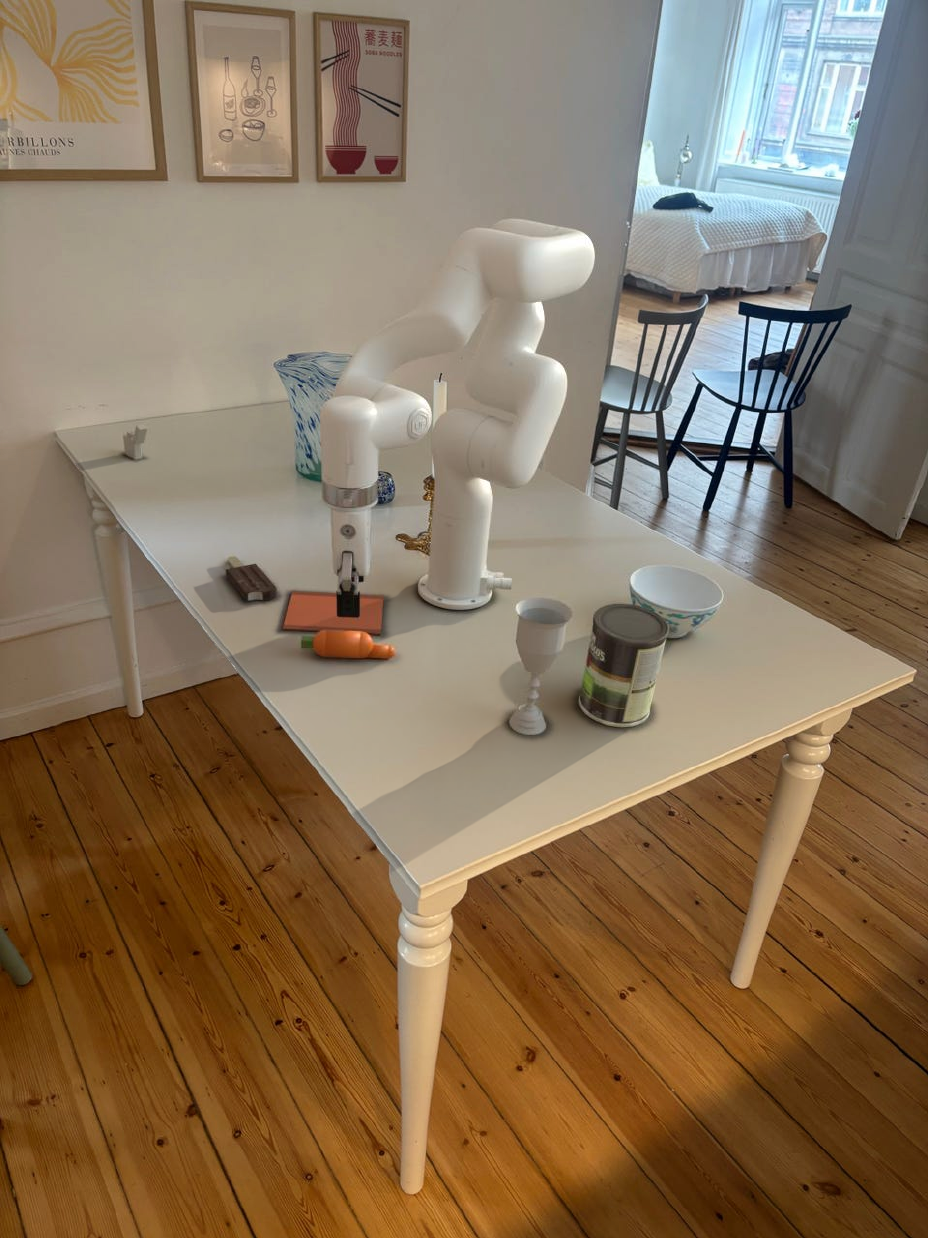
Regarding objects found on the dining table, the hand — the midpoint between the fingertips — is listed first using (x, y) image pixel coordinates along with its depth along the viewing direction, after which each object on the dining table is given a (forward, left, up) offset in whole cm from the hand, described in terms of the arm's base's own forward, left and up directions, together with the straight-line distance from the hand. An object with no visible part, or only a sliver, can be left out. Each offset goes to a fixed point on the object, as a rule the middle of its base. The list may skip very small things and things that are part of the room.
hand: (350, 598), depth 135 cm
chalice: (-25, +16, -10) cm, 31 cm away
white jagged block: (+50, -71, -10) cm, 87 cm away
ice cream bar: (+18, -20, -10) cm, 29 cm away
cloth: (+3, -11, -9) cm, 15 cm away
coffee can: (-38, +11, -10) cm, 41 cm away
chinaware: (-51, -12, -10) cm, 54 cm away
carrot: (+1, +1, -9) cm, 9 cm away
